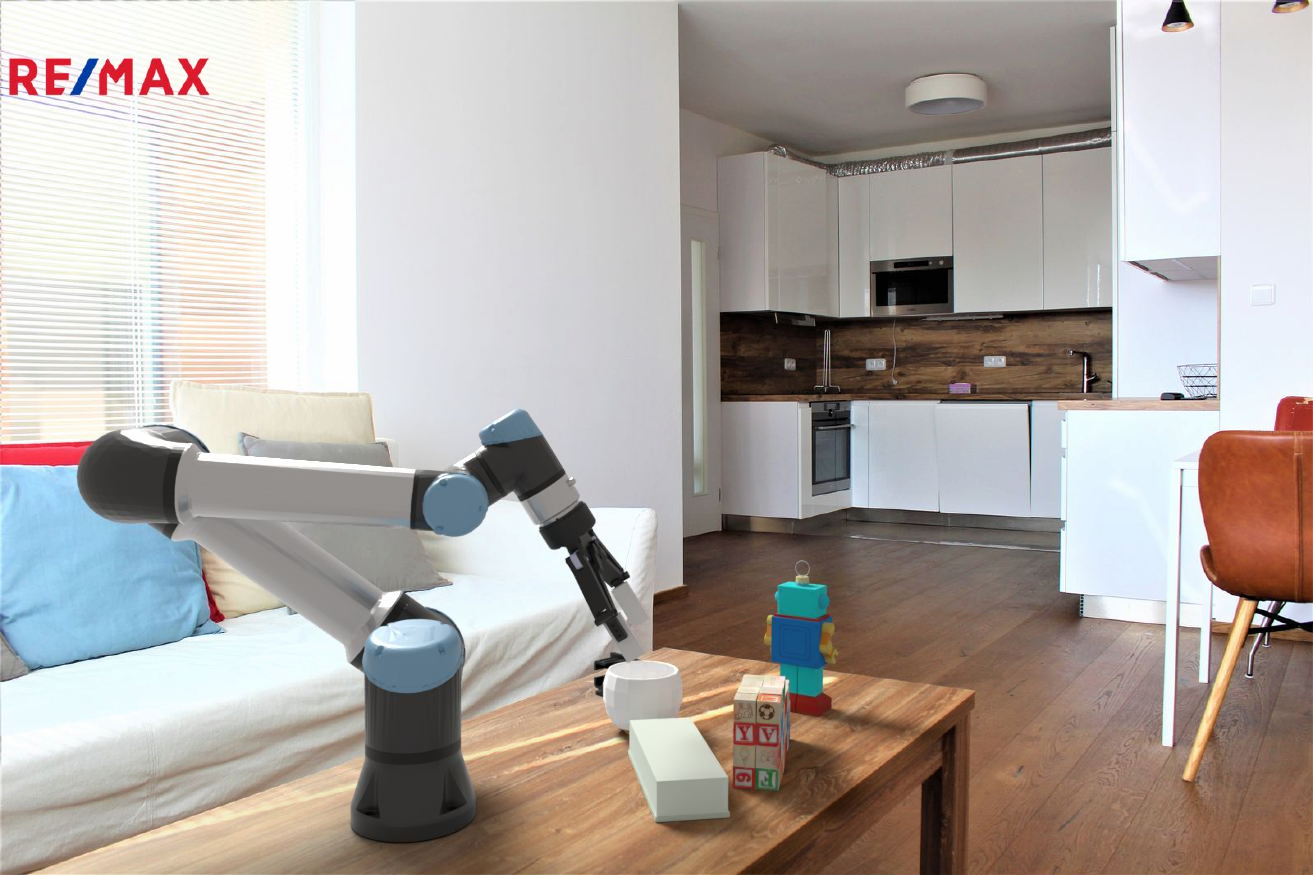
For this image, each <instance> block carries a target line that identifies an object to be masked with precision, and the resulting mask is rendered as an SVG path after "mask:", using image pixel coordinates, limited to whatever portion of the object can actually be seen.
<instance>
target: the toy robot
mask: <svg viewBox="0 0 1313 875" xmlns="http://www.w3.org/2000/svg"><path fill="white" fill-rule="evenodd" d="M800 562H801V560H799V561H798V562H796V564H795V567H794V568H795V569H794V570H795V572H796V574H797V575H796V576H795V581H787V582H784V583H781V584H779V585H777V591H776V592H775V593H774V599H775V601H776V602H777V612H776V613H774V614H769V615H768V616H767V618H766V626H767V628H766V632H765V634H764V636H763V641H764V644H765V645H767V646H768V647H769V652H770V661H771V662H772V663H777V664H779V676H785V680H790V688H789V689H790V693H789V700H790V713H791V712H792V713H798V714H802V715H806V716H807V715H808V716H813V717H820V716H821V715H823V714H825V713H826V712H827V711H829V710H831V709H832V708H833V707H832V704H833V703H832V701H833V700H832V699H833V698H832V696H830V695H828V694H827V693H824V667H825V666H826V665H828V664H833V665H834V664H835V665H836V663H837V660H836V658H835V657H837V656H838V655H839V652H838V651H839V650H838V649H837V648H834V647H833V635H834V634H835V629H836V628H835V624H834V623H835V622H834V623H833V616H831V614H830V613H827V608H828V607H829V606H830V602H831V601H830V598H829V596H828V595H827V594H828V592H827V591H828V590H827V588H828V587H827V585H825V584H815V583H810V576H808V574H809V573H810V570H811V569H810V564H809V563H808V562H807V561H806V560H803V562H804V563H805V564H807V566H808V572H807V573H806V574H800V573H798V571H797V565H798V564H799V563H800Z"/></svg>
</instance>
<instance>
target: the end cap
mask: <svg viewBox="0 0 1313 875" xmlns="http://www.w3.org/2000/svg"><path fill="white" fill-rule="evenodd" d="M609 655H610V656H609V657H606V658H602V659H601V658H600V659H598V660H597V659H596V660H594V662H593V670H594V671H599V670H604V669H606V671H607V670H608V668H609V667H610V666H612V665H615V664H617V663H622V662H627V661H626V660H625V658H624V656H623V655H622V653H621V652H620V653H619V652H616V651H610V652H609ZM633 661H644V660H643V659H639V658H636V659H635V660H633ZM605 675H606V673H605V674H603V675H598V676H594V677H593V685H594V686H593V687H594V688H596V689H597V690H595V691H594V692H595V695H596V696H600V697H602V698H603V682H604V679H605Z"/></svg>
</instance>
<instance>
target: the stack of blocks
mask: <svg viewBox="0 0 1313 875" xmlns="http://www.w3.org/2000/svg"><path fill="white" fill-rule="evenodd" d="M789 688H790V680H785V676H780V675H762V674H761V675H759V674H758V675H757V674H743V676H742V679H741V682H740V686H738V689H737V691H736V693H735V695H734V697H733V705H732V707H733V712H732V715H733V718H732V720H733V722H732V723H733V725H732V726H733V727H732V744H733V746H732V747H733V749H732V750H733V755H732V756H733V758H732V760H733V761H732V788H735V789H737V788H738V789H746V790H747V789H748V790H749V789H750V790H760V791H762V790H763V791H775V792H778V791H779V788H780V785H781V783H782V781H783V774H784V770H785V764H786V763H785V762H786V758H787V757H786V756H787V752H788V750H789V746H790V739H791V711H790V700H789V693H790V689H789Z"/></svg>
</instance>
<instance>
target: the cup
mask: <svg viewBox="0 0 1313 875" xmlns="http://www.w3.org/2000/svg"><path fill="white" fill-rule="evenodd" d="M605 674H606V675H605ZM605 674H604V675H605V679H604V682H603V697H602V699H603V704H604V706H605V710H606V713H607V716H608V718H609V719H610V721H611V722H612V723H613V726H615V727H617V728H618V729H621V730H624V733H625V734H627V735H629V731H630V720H646V719H666V718H678V717H677V716H678V715H679V711H680V709H681V705H682V702H683V681H682V677H681V673H680V669H679V668H678V667H676V665H673V664H671V663H667V662H663V661H656V660H643V661H631V662H629V663H627V662H622V663H617V664H615V665H612V666H610V667H609V668H608V670H607V669H606V672H605Z"/></svg>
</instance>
